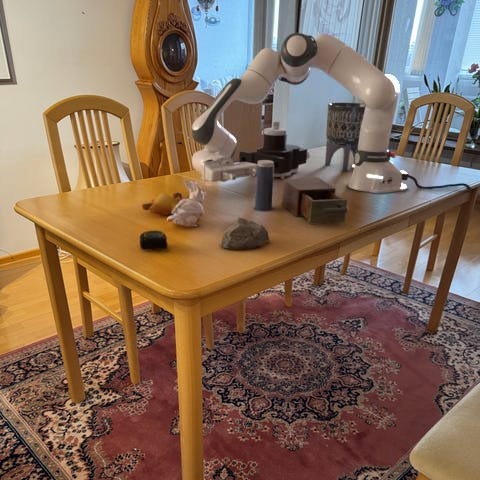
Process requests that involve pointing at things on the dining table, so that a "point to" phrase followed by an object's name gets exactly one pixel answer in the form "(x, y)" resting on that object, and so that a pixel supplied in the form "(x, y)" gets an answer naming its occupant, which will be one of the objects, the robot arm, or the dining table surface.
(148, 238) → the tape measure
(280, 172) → the mechanical component
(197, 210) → the figurine
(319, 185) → the cabinet
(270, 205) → the salt shaker
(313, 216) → the drawer
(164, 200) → the toy
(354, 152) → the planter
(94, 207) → the dining table surface
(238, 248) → the rock
